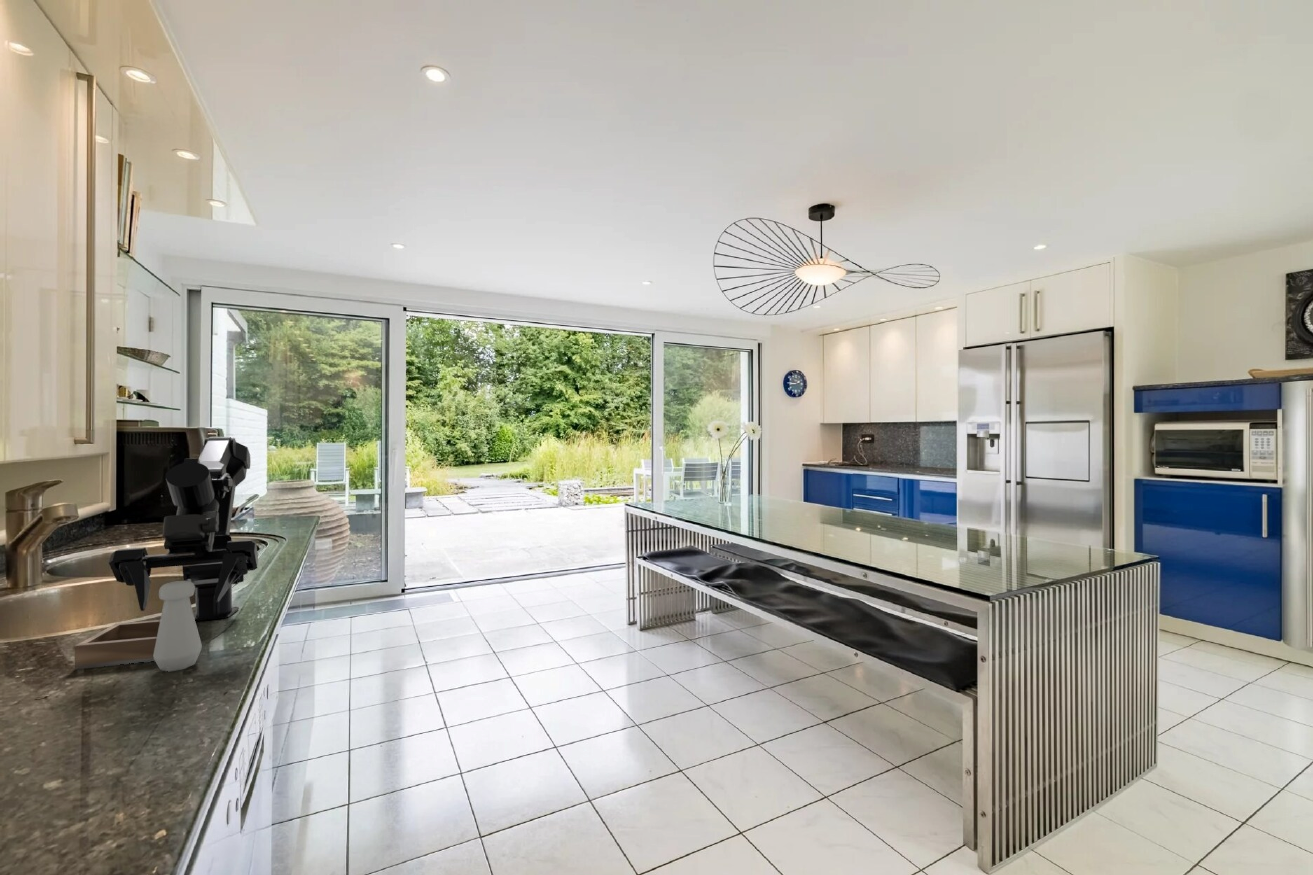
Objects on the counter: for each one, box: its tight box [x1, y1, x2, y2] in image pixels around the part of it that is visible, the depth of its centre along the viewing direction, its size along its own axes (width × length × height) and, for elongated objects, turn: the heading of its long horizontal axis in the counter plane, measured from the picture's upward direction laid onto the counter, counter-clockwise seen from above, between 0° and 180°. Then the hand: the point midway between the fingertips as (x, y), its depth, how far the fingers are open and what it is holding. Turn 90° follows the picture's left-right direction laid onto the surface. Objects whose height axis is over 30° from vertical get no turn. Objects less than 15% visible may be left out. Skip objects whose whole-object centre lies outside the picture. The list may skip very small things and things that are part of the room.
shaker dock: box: [74, 619, 160, 670], centre depth 96 cm, size 11×11×4 cm
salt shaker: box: [153, 580, 203, 673], centre depth 91 cm, size 6×6×13 cm
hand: (180, 605), depth 92 cm, fingers open, 9 cm apart
